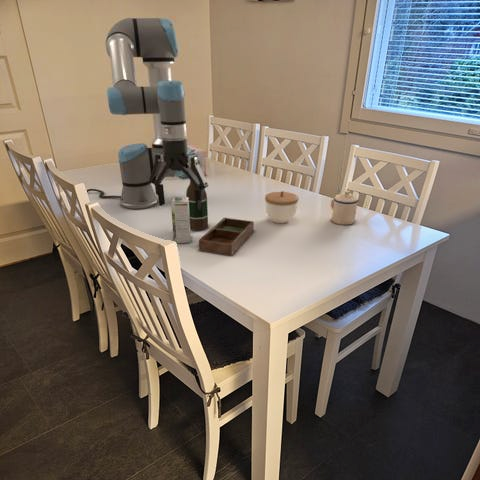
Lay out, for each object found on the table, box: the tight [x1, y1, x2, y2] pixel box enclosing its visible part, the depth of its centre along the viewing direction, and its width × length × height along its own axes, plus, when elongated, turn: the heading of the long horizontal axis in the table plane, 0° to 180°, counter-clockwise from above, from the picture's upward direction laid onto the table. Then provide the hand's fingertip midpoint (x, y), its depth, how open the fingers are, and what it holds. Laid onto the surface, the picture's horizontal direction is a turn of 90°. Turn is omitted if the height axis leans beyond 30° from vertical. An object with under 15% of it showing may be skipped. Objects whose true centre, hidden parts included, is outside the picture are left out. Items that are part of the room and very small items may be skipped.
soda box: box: [152, 138, 207, 180], centre depth 224 cm, size 41×14×13 cm, turn 30°
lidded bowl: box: [264, 190, 299, 224], centre depth 160 cm, size 13×13×11 cm
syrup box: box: [170, 196, 191, 244], centre depth 143 cm, size 6×6×14 cm
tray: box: [198, 217, 255, 257], centre depth 145 cm, size 12×22×4 cm, turn 160°
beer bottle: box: [185, 160, 209, 232], centre depth 150 cm, size 8×8×24 cm
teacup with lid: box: [330, 189, 359, 226], centre depth 160 cm, size 12×9×12 cm
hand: (180, 207), depth 140 cm, fingers open, 13 cm apart
